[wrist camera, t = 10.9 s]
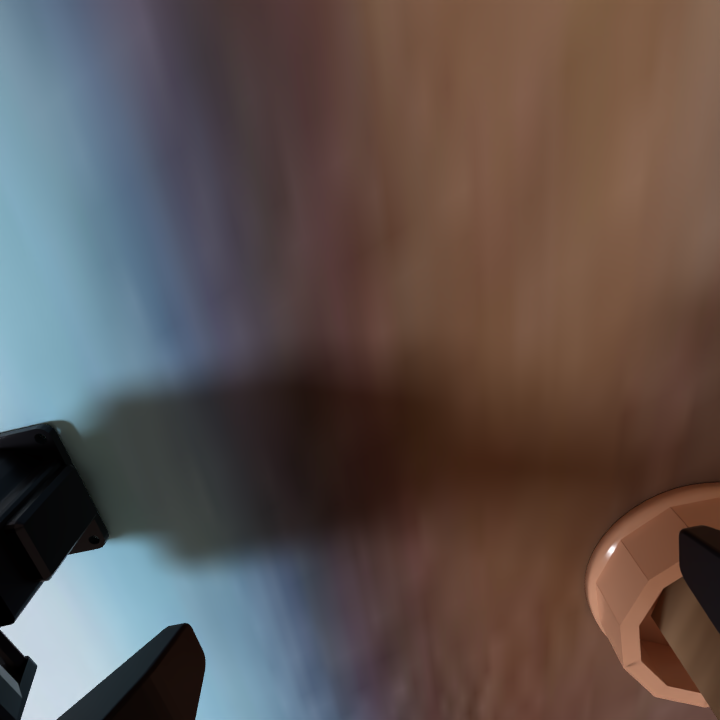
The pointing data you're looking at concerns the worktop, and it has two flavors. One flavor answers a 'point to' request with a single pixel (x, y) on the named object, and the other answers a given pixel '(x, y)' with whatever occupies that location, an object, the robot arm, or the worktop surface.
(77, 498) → the robot arm
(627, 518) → the tan shallow dish
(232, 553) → the worktop surface
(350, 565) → the worktop surface
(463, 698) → the worktop surface
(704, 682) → the tall square post
